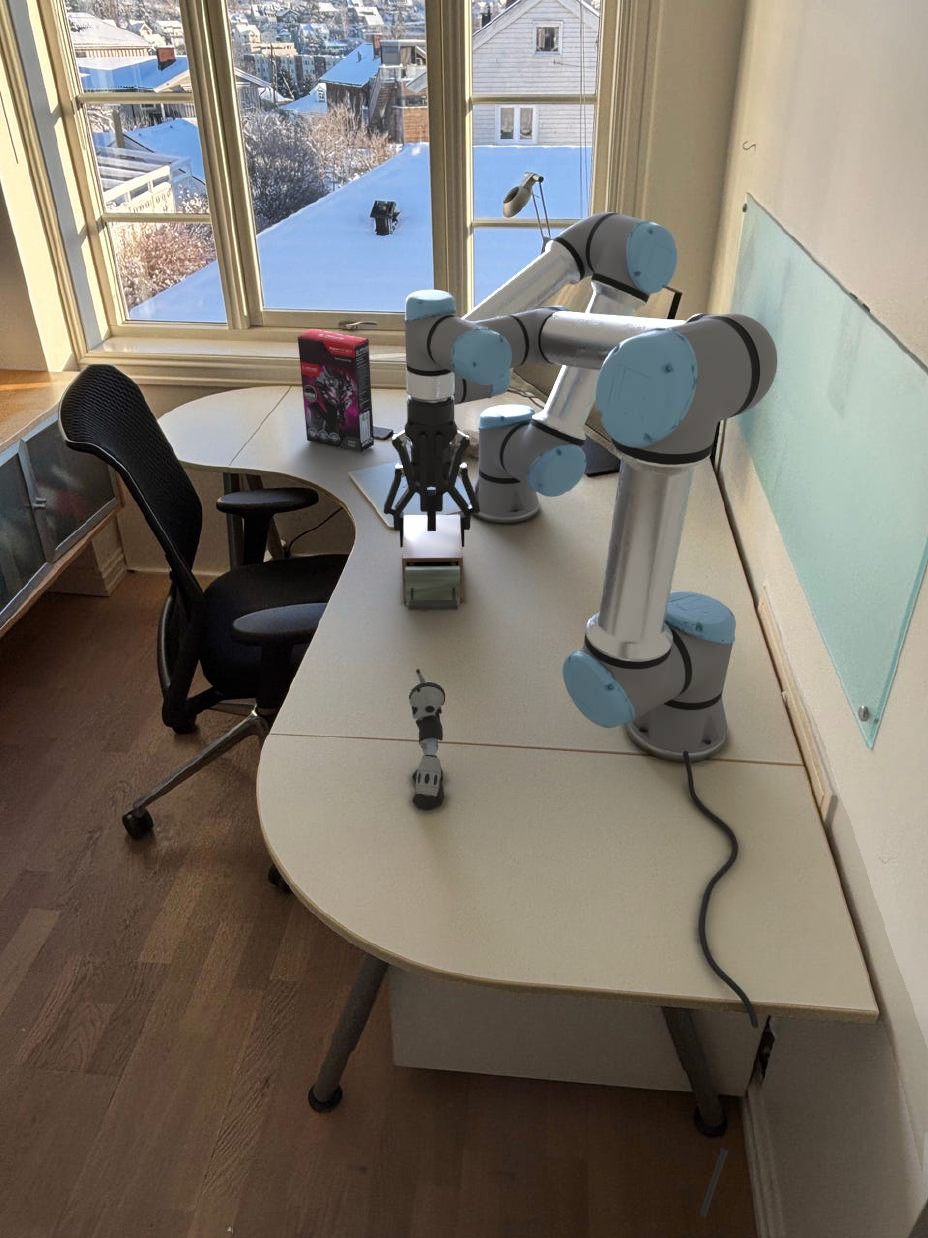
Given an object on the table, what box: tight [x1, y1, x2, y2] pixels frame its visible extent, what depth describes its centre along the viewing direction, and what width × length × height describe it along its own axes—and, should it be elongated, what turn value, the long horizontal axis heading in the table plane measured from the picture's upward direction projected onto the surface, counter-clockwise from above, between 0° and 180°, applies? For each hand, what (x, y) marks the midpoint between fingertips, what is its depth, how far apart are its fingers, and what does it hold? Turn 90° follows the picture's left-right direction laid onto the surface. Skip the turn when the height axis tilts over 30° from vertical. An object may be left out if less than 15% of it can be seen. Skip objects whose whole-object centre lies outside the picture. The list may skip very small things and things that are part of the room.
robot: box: [408, 668, 446, 810], centre depth 126 cm, size 20×5×20 cm, turn 3°
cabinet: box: [401, 514, 464, 604], centre depth 177 cm, size 17×11×10 cm, turn 2°
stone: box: [451, 426, 479, 458], centre depth 231 cm, size 21×15×6 cm
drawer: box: [405, 562, 461, 611], centre depth 172 cm, size 22×10×8 cm, turn 2°
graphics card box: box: [297, 328, 375, 454], centre depth 227 cm, size 17×7×27 cm, turn 62°
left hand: (432, 543), depth 182 cm, fingers closed on cabinet, 11 cm apart
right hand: (431, 527), depth 158 cm, fingers closed
